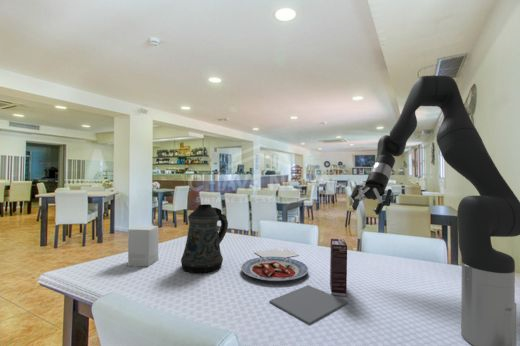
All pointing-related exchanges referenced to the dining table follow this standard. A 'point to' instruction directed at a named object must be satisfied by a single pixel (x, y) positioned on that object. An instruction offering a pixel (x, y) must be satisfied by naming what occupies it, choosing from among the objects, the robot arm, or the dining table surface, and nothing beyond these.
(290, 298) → the charcoal mat
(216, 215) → the beer stein
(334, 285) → the supplement box
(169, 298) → the dining table surface
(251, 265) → the ceramic plate
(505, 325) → the robot arm
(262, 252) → the paper stack
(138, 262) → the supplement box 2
